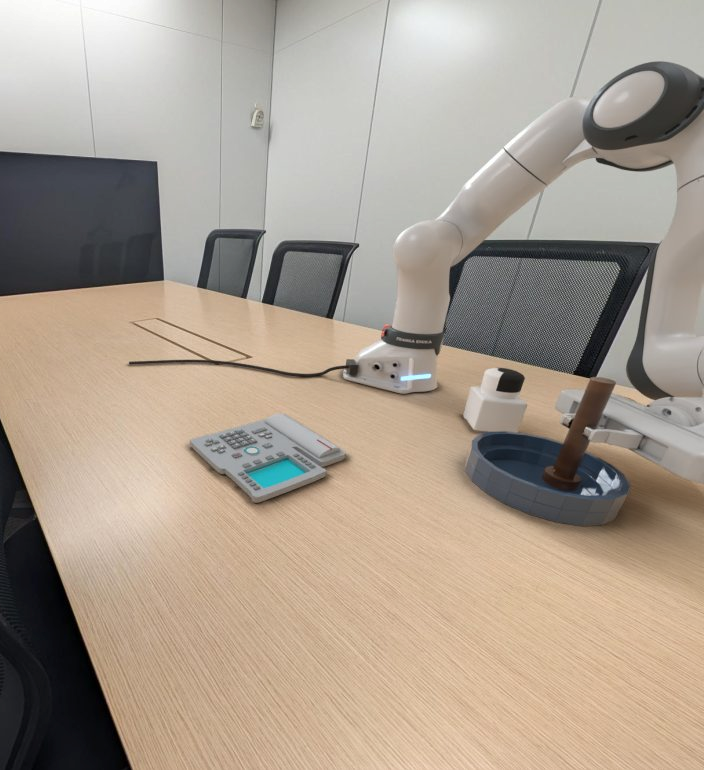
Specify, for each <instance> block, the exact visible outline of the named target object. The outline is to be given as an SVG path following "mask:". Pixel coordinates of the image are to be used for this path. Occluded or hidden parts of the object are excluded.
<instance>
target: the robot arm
mask: <svg viewBox="0 0 704 770" xmlns="http://www.w3.org/2000/svg"><path fill="white" fill-rule="evenodd" d="M590 159H595V161H596V162H597V163H598V164H600V165H601V164H602V165H604V166H609V167H612V168H616V169H618V170H622V171H627V172H628V171H629V172H639V173H640V172H642V173H643V172H644V173H645V172H651V171H652V172H653V171H657V170H661V169H664V168H666V167H669V166H671V165H674V168H675V174H676V204H675V209H674V214H673V216H672V220H671V223H670V225H669V227H668V229H667V232H666V234H665V235H664V237H663V238H662V240H661V241H660V242H659V243H658V245H656V247H655V248H654V250H653V252H652V254H651V257H650V260H649V264H648V267H647V272H646V279H645V284H644V290H643V296H642V301H641V310H640V315H639V321H638V327H637V333H636V338H635V341H634V344H633V346H632V349H631V351H630V353H629V355H628V359H627V361H626V365H625V373H626V377H627V380H628V381H629V383H630V384H631V385H632V387H633V388H635V390H636V391H637V392H639V393H640V394H641V395H642V396H644V397H646V398H647V399H649V400H653V401H652V402H649V403H648V404H647V405H645V404H642V403H640V402H638V401H636V400H635V401H636V402H635V401H633V400H634V399H633V400H630V399H628V398H629V397H627V398H626V396H623V395H621V394H617V393H615V392H612V394H611V396H610V398H609V400H608V403H607V405H606V407H605V409H604V412H603V414H602V416H601V418H600V421H599V423H598V425H597V426H594V427H593V426H587V427H586V428H585V429H584V433H583V434H582V436H583V437H584V438H586V439H588V440H589V441H590V443H594V444H595V443H596V444H597V443H598V444H606V445H609V446H613V447H614V446H615V447H618V448H623V449H627V450H628V451H631V452H632V453H634V454H636V455H638V456H640V457H642V458H644V459H645V460H647V461H649V462H651V463H652V464H655V465H656V466H657V467H658V466H659V467H660V468H662V469H664V470H666V471H667V472H669V473H671V474H673V475H675V476H677V477H679V478H680V479H683V480H686V481H690V482H693V483H697V484H702V485H704V335H698V336H697V334H696V328H697V322H698V316H699V312H700V305H701V300H702V295H703V289H704V76H702V75H700V74H698V73H696V72H695V71H693V70H692V69H690V68H689V67H687V66H684V65H681V64H679V63H674V62H671V61H664V60H662V61H661V60H660V61H659V60H657V61H649V62H644V63H641V64H638V65H635V66H633V67H631V68H628V69H626V70H624V71H622V72H621V73H619V74H618V75H616V76H614V77H613V78H612V79H610V80H609V81H608V82H607V83H606V84H605V85H603V86H602V87H601V88H600V89H599V90H598V91H597V92H596V94H595V95H594V96H593V97H592V98H590V97H586V96H571V97H568V98H565V99H562V100H561V101H559V102H558V103H557V102H556V104H554V105H553V106H551V107H550V108H549V109H548V110H546V111H544V113H542V114H541V115H539V116H538V117H537V118H535V119H534V120H533V121H532V122H530V123H529V124H528V125H527V126H526V127H524V128H523V129H522V130H521V131H520V132H519V133H517V134H515V136H514V137H513V138H512V139H511V140H509V141H508V142H507V143H506V144H504V146H503V147H502V148H501V149H500V150H499V151H498V152H497V153H496V154H494V156H493V157H491V158H490V159H489V160H488V161H487V162H486V163H485V164H484V165H483V166H482V167H481V168H480V169H479V170H477V172H476V173H474V174H473V176H472V177H470V178H469V179H468V180H467V181H466V182H465V183H464V184H463V186H462V187H461V189H460V191H459V193H458V194H457V195H456V197H455V198H454V199H453V200H452V201H451V203H450V204H449V205H448V206H447V208H446V209H445V210H444V211H442V213H441V214H440V215H439V216H437V218H435V219H432V220H421V221H419V222H416V223H415V224H413V225H411V226H409V227H407V228H406V229H404V230H403V231H402V232H401V233H399V235H398V236H397V237H396V239H395V241H394V243H393V246H392V251H391V252H392V259H393V261H394V263H395V266H396V301H395V306H394V313H393V319H392V324H390V323H386V324H384V326H383V327H382V330H381V335H380V339H379V340H378V341H376V342H374V343H371V344H370V345H368V346H366V347H364V348H362V349H361V350H359V352H358V353H357V354H356V356H355V358H354V359H353V358H346V359H345V365H344V364H343V365H337V366H336V365H335V366H332V367H329V368H327V369H324V370H323V371H319V372H314V373H299V372H289V371H284V370H279V369H275V368H270V367H264V366H258V365H253V364H248V363H241V362H234V361H227V360H226V361H225V360H217V359H216V360H214V359H160V360H133V361H128V365H150V364H172V363H174V364H175V363H176V364H177V363H178V364H179V363H198V364H199V363H200V364H201V363H202V364H218V365H229V366H235V367H241V368H248V369H254V370H259V371H264V372H269V373H275V374H279V375H284V376H289V377H297V378H299V377H300V378H314V377H321V376H324V375H327V374H328V373H330V372H332V371H337V370H343V373H342V377H343V379H344V380H346V381H349V382H353V383H356V384H357V383H358V384H361V385H365V386H369V387H373V388H377V389H381V390H385V391H390V392H393V393H398V394H400V395H401V394H403V395H405V394H410V393H423V392H430V391H433V390H436V389H437V388H438V378H437V377H438V376H437V375H438V374H437V373H438V371H437V370H438V357H439V355H440V353H441V352H442V347H443V344H444V338H445V331H444V328H445V323H446V319H447V316H448V315H447V314H448V311H449V306H450V301H451V294H450V271H451V268H452V267H454V266H456V265H457V264H459V263H460V262H461V261H463V260H464V259H465V258H466V257H467V256H468V255H470V254H471V253H472V252H473V251H474V250H476V248H477V247H478V246H479V245H481V244H482V243H483V242H484V241H485V240H487V238H488V237H489V236H491V234H493V233H494V232H495V231H496V230H497V229H499V227H500V226H501V225H502V224H503V223H504V222H505V221H507V220H508V219H509V218H510V217H512V216H513V215H514V214H515V213H517V212H518V211H519V210H520V209H521V208H522V207H524V206H525V205H526V204H527V203H529V202H530V201H531V200H532V199H534V198H535V197H536V196H537V195H538V194H540V193H541V192H542V191H543V190H545V189H546V188H548V187H549V185H551V184H552V183H553V182H555V181H556V180H557V179H558V178H560V177H561V176H562V175H563V174H565V172H567V171H569V170H570V169H571V168H573V167H574V166H576V165H577V164H580V163H581V162H583V161H586V160H590ZM585 390H586V389H579V388H578V389H577V388H566V389H563V390H561V391H560V392H559V395H558V396H557V399H556V401H555V404H554V409H555V410H556V411H557V412H559V413H561V414H562V415H561V417H560V419H559V424H560V425H561V426H564V427H565V428H567V429H568V430H569V429H570V426H571V424H572V421H573V419H574V417H575V414H576V412H577V409H578V407H579V404H580V402H581V400H582V397H583V395H584V392H585Z"/></svg>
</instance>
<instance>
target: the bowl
mask: <svg viewBox="0 0 704 770" xmlns="http://www.w3.org/2000/svg"><path fill="white" fill-rule="evenodd" d="M563 443H564V441H560V440H556V439H553V438H549V437H545V436H541V435H540V436H539V435H537V434H531V433H526V432H519V431H518V432H508V431H498V432H488V431H486V432H483V433H480V434H477V435H476V436H475V437H474V438H473V439H472V440H471V442H470V445H469V447H468V448H469V449H468V452H467V455H466V457H465V462H464V471H465V474H466V475H467V476H468V478H469V479H470V481H471V482H472V483H473V484H475V486H477V487H478V488H479V489H481V490H482V491H483V492H484V493H485V494H487V495H489V497H492V498H493V499H495V500H497V501H499V502H500V503H502V504H504V505H506V506H509V507H511V508H513V509H515V510H517V511H519V512H523V513H525V514H527V515H530V516H534V517H537V518H541V519H543V520H547V521H550V522H554V523H559V524H565V525H573V526H579V527H589V526H603V525H606V524H608V523H610V522H612V521H614V520H615V519H616V517H617V516H618V514H619V512H620V510H621V508H622V506H623V504H624V502H625V500H626V499H627V496H629V492H630V490H631V487H632V485H631V484H630V481H629V480H628V478H627V477H626V475H625V473H623V472H622V471H620V470H619V469H618V468H617V467H615V466H614V465H613V464H612V463H610V462H608V461H607V460H604V459H603V458H601V457H599V456H597V455H596V454H593V453H591V452H589V451H587V450H586V452H585V454H584V456H583V459H582V461H581V463H580V465H579V468H578V470H577V472H576V474H578V475H579V476H580V477H581V479H582V480H581V483H580V485H579V487H578V489H577V490H575V491H565V490H561V489H558V488H555V487H553V486H550V485H549V484H547V483H546V482H544V481H543V480H542V475H543V472H544V470H545V468H546V467H548V466H554V465H555V462H556V460H557V458H558V455H559V453H560V450H561V448H562V446H563Z"/></svg>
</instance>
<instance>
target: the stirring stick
mask: <svg viewBox="0 0 704 770" xmlns="http://www.w3.org/2000/svg"><path fill="white" fill-rule="evenodd" d="M616 384H617V381H615V380H613V379H611V378H608V377H607V378H606V377H601V376H592V377H590V378H589V380H588V383H587V386H586V388H585V389H584V390H585V392H584V395H583V397H582V400H581V402H580V404H579V407H578V409H577V412H576V414H575V417H574V419H573V421H572V424H571V426H570V429H569V428H568V431H567V434H566V436H565V438H564V441H563V446H562V448H561V450H560V453H559V455H558V458H557V460H556V462H555V465H554V466H548V467H546V468H545V470H544V472H543V475H542V480H543V481H544V482H546V483H547V484H549V485H550V486H553V487H555V488H558V489H561V490H565V491H575V490H577V489H578V487H579V485H580V483H581V480H582V479H581V477H580V476H579V475H578V474H576V472H577V470H578V468H579V465H580V463H581V461H582V459H583V456H584V454H585V452H586V451H587V450H588V447H589V445H590V443H591V441H589V440H588V439H586V438H584V437H583V436H582V434H583V433H584V429H585V428H586V427H587V426H593V427H594V426H597V425H598V423H599V421H600V418H601V416H602V414H603V412H604V409H605V407H606V405H607V403H608V400H609V398H610V396H611V394H612V393H613V391H614V390H615V388H616V387H615V386H616Z"/></svg>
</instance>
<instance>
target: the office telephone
mask: <svg viewBox="0 0 704 770" xmlns="http://www.w3.org/2000/svg"><path fill="white" fill-rule="evenodd" d="M189 446H190V447H191V448H192V449H193V450H194V451H195V453H197V454H198V455H199V456H200V457H201V458H202V459H203V460H204V461H205V462H206V463H208V465H209V466H211V468H212V469H214V470H215V471H216V472H217V473H218V474H221V475H226V476H227V477H228V478H229V479H230V480H232V481H233V483H235V484H236V485H237V486H238V487H239V488H240V489H241V490H242V491H243V492H245V494H247V496H248V497H249V498H250V499H251V502H253V503H255V504H257V503H263V502H265V501H267V500H270V499H272V498H275V497H277V496H280V495H283V494H286V493H288V492H291V491H293V490H296V489H298V488H301V487H303V486H307V485H309V484H312V483H314V482H317V481H319V480H321V479H323V478H325V477H326V475H327V474H326V473H327V470H326V468H325V467H328V466H331V465H333V464H337V463H338V462H341V461H343V460H345V458H346V452H345V450H344V449H341V448H340V447H339V446H337V445H336V444H334V443H332V442H331V441H330V440H328V439H327V438H324V437H323V436H322V435H320V434H319V433H317V432H315V431H313V430H312V429H310V428H309V427H308V426H305V425H304V424H303V423H301V422H299V421H298V420H296V419H294V418H293V417H290V416H289V415H288V414H287V413H283V414H282V413H274V414H272V415H269V416H267V418H264V419H260V420H256V421H253V422H249V423H246V424H243V425H242V424H241V425H239V426H235V427H231V428H228V429H225V430H220V431H217V432H214V433H210V434H205V435H201V436H198V437H194V438H190V439H189Z"/></svg>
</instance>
